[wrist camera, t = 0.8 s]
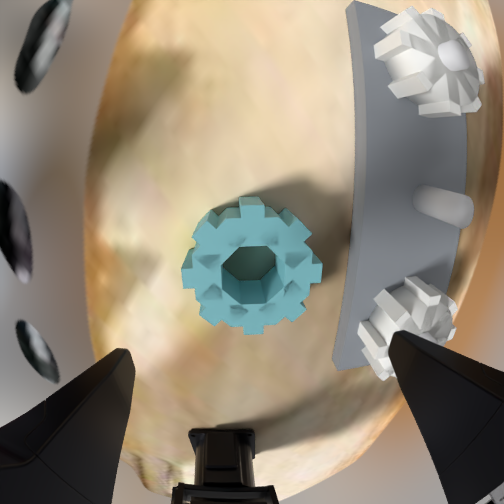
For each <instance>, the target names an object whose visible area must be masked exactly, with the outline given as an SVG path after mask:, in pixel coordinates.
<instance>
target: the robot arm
mask: <svg viewBox="0 0 504 504" xmlns="http://www.w3.org/2000/svg"><path fill="white" fill-rule="evenodd" d="M388 356H389V359H390V361H391V364H392V367H393V369H394V372H395V375H396V377H397V380H398V383H399V386H400V388H401V390H402V393H403V395H404V397H405V399H406V401H407V403H408V405H409V407H410V409H411V412H412V414H413V416H414V418H415V420H416V423H417V425H418V427H419V429H420V432H421V434H422V436H423V438H424V441H425V443H426V446H427V448H428V450H429V452H430V455H431V457H432V460H433V463H434V465H435V468H436V470H437V473H438V475H439V479H440V481H441V484H442V487H443V489H444V492H445V495H446V498H447V501H448V504H475V503H477V502H478V501H479V500H481V499H483V498H484V497H485V496H487V495H488V494H489V495H490V497H491V499H490V500H489V501H488V502H487V503H485V504H504V372H502V371H499V370H497V369H494V368H492V367H489V366H487V365H485V364H482V363H479V362H478V361H475V360H473V359H471V358H468V357H466V356H464V355H461V354H459V353H456V352H454V351H452V350H450V349H447V348H445V347H443V346H440V345H438V344H436V343H434V342H431V341H429V340H427V339H424V338H422V337H420V336H418V335H415V334H413V333H411V332H408V331H406V330H400V331H396V332H394V333H393V335H392V339H391V342H390V345H389V348H388ZM135 372H136V371H135V366H134V363H133V360H132V357H131V354H130V351H129V350H128V349H123V348H116V349H115V350H113V351H112V352H111V353H109V354H108V355H106V356H105V357H104V358H102V359H101V360H99V361H98V362H97V363H95V364H94V365H93V366H91V367H90V368H88V369H87V370H86V371H84V372H83V373H81V374H80V375H79V376H77V377H76V378H74V379H73V380H72V381H70V382H69V383H67V384H66V385H65V386H63V387H62V388H60V389H59V390H58V391H56V392H55V393H54V394H52V395H51V396H49V397H48V398H46V401H45V400H44V401H42V402H41V403H39V404H38V405H37V406H35V407H34V408H32V409H31V410H29V411H28V412H26V413H25V414H23V415H21V416H20V417H18V418H16V419H15V420H13V421H11V422H9V423H8V424H6V425H4V426H2V427H1V428H0V504H111V503H112V497H113V490H114V484H115V479H116V474H117V468H118V463H119V458H120V454H121V449H122V444H123V440H124V435H125V431H126V427H127V423H128V419H129V414H130V409H131V402H132V394H133V387H134V380H135ZM188 436H189V439H190V442H191V444H192V447H193V450H194V452H195V455H196V459H195V481H194V485H192V484H185V483H181V482H179V483H178V486H177V487H173V489H172V500H171V504H189V503H187V501H190V504H279V502H278V499H277V495H276V492H275V489H274V485H268V486H262V487H255V481H254V471H253V462H252V459H254V458H255V432H254V430H250V429H249V430H219V431H207V430H190V431H189V433H188Z"/></svg>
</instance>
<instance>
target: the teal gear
mask: <svg viewBox="0 0 504 504" xmlns="http://www.w3.org/2000/svg"><path fill="white" fill-rule="evenodd" d="M311 235H312V233H311V232H310V231H309V230H308V229H307V228H306V227H305V225H304V224H303V223H302V222H301V221H300V220H299V219H298V218H297V217H296V216H294V215H293V214H292V213H291V212H290V211H289V210H288V209H287V208H285V209H284V210H283V211H282V212H281V213H279V214H277V213H276V212H275V211H274V210H273V209H272V208H271V207H265V205H264V204H263V202H262V201H261V200H260V198H259V197H258V196H257V197H239V207H229V208H226V209H225V210H224V211H223V212H222V213H221V214H220V215H219V216H218V215H217V214H216V213H215V212H213V211H212V210H210V211H209V212H208V213H207V214H206V215H205V216H204V217H203V218H202V219H201V221H200V222H199V223H198V225H197V227H196V229H195V231H194V233H193V235H192V238H193V239H194V240H195V241H196V245H195V248H194V249H191V250H189V251H188V253H187V256H186V258H185V261H184V263H183V265H182V268H181V272H182V281H183V289H186V288H195V295H196V300H197V301H198V302H199V303H200V304H201V306H200V312H199V315H200V316H201V317H203V318H204V319H205V320H207V321H208V322H209V323H211V324H212V325H213V326H215V325H216V324H218V323H219V322H220V321H221V320H223V321H224V322H225V323H227V324H228V325H229V326H231V327H238V326H243V331H244V335H251V334H263V326H264V325H275V324H277V323H278V322H279V321H280V320H282V319H283V318H284V317H286V318H287V319H289V320H290V321H291V322H293V321H294V320H295V319H296V318H298V317H299V316H300V315H301V314H302V313H303V312H304V311H305V310H307V309H306V307H305V305H304V303H303V300H304V299H305V298H306V297H307V296H308V295H309V290H310V283H321V276H322V265H323V263H322V262H321V261H320V260H319V259H318V257H317V256H316V255H315V254H314V253H313V251H312V250H311V249H310V248H309V246H308V245H307V244H306V243H305V242H304V241H305V240H306V239H307V238H309V237H310V236H311ZM246 246H267V247H268V248H270V249H271V250H272V251H273V252H274V253H275V266H274V267H273V268H272V269H271V270H270V271H269V272H268V273H267V274H266V275H264V276H263V277H262V278H261V279H260V280H242V281H239V280H238V279H236V278H235V277H234V276H233V275H232V274H230V273H229V272H228V271H227V270H226V269H225V268H223V263H224V262H225V261H226V260H227V259H228V258H229V257H230V256H231V255H232V254H233V253H234V252H235V251H236V250H237V249H238V248H239V247H246Z"/></svg>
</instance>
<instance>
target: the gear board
mask: <svg viewBox="0 0 504 504" xmlns="http://www.w3.org/2000/svg"><path fill="white" fill-rule="evenodd" d="M345 10H346V16H347V23H348V31H349V39H350V47H351V57H352V69H353V83H354V102H355V178H354V199H353V214H352V227H351V238H350V248H349V257H348V265H347V273H346V281H345V288H344V295H343V301H342V308H341V314H340V320H339V325H338V331H337V336H336V341H335V346H334V351H333V356H332V360H333V362H334V364H335V366H336V368H337V371H340V370H346V369H352V368H357V367H362V366H367V365H371V367H372V368H373V370H374V372H375V373H376V375H377V376H378V377H379V378H380V379H381V380H382V381H384V380H386V379H387V378H388V377H389V376H390V375H391V376H394V377H396V375H395V372H394V369H393V367H392V364H391V361H390V359H389V356H388V348H389V345H390V342H391V339H392V335H393V333H394V332H396V331H400V330H406V331H408V332H411V333H413V334H415V335H418V336H420V337H422V338H424V339H427V340H429V341H431V342H434V343H436V344H438V345H440V346H444V344H445V343H446V341H448V340H451V339H452V338H453V336H454V333H455V331H456V327H455V326H454V325H453V324H452V315H453V314H454V313H455V312H456V311H457V310H458V308H457V306H456V304H455V302H454V301H453V300H452V299H451V298H449V297H448V296H447V295H446V293H447V289H448V285H449V282H450V278H451V274H452V269H453V265H454V261H455V256H456V251H457V246H458V240H459V235H460V229H464V228H466V227H468V226H469V224H470V223H471V221H472V218H473V215H474V205H473V201H472V199H471V198H470V197H469V196H466V195H465V185H466V168H467V127H466V113H467V112H477V111H478V109H479V108H480V107H481V105H482V104H481V102H480V100H479V98H478V96H477V95H478V92H479V85H480V84H485V82H484V76H483V71H482V70H481V69H479V68H478V67H477V65H476V62H475V60H474V57H473V55H472V53H471V51H470V49H469V48H470V47H471V46H472V45H471V43H470V42H469V40H468V39H467V37H466V36H465V34H464V33H460V34H459V33H458V32H457V31H456V30H455V29H454V28H453V27H452V26H450V25H449V24H448V23H447V22H445V19H444V15H443V14H442V13H440V12H439V11H437V10H435V9H433V8H430V9H428V10H427V11H425V12H423V13H421V14H419V13H418V11H417V10H416V9H415V8H414V7H413V6H411V7H409V8H407V9H406V10H404V11H403V12H401V13H400V14H395V13H392V12H390V11H387V10H384V9H381V8H378V7H375V6H372V5H369V4H365V3H362V2H359V1H355V0H354V1H353V2H352V3H351V4H350V5H349V6H348V7H347V8H346V9H345ZM396 378H397V377H396Z"/></svg>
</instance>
